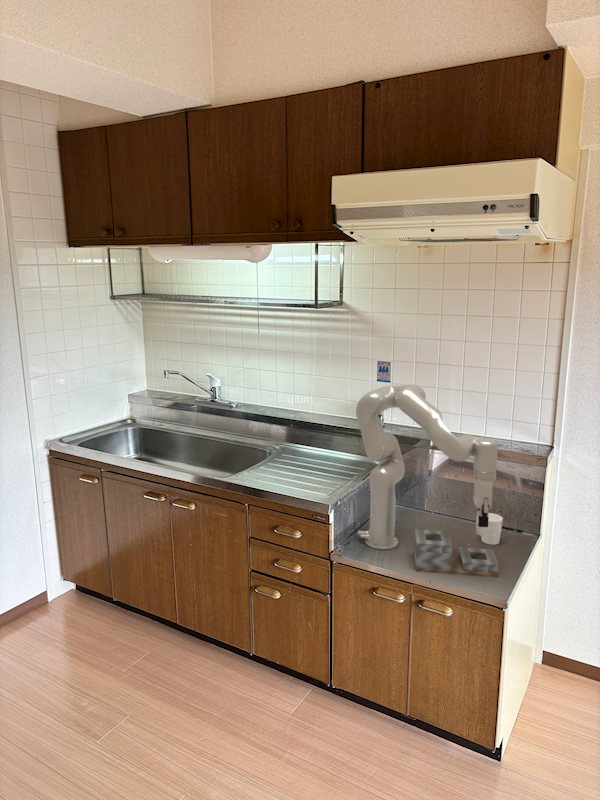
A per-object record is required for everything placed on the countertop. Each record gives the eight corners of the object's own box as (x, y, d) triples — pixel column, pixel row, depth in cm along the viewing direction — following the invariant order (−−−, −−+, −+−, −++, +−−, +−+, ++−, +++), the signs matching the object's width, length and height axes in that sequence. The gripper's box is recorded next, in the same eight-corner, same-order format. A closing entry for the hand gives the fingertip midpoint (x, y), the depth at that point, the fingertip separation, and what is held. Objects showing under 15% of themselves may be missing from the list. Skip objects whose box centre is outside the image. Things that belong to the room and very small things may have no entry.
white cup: (484, 535, 244) (486, 511, 242) (503, 540, 239) (505, 516, 237) (476, 541, 238) (478, 517, 236) (496, 547, 233) (498, 523, 231)
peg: (476, 535, 213) (477, 514, 212) (474, 530, 217) (476, 509, 216) (488, 536, 213) (489, 514, 211) (486, 531, 217) (487, 510, 215)
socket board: (415, 571, 214) (417, 544, 212) (413, 553, 228) (415, 528, 226) (498, 576, 210) (500, 550, 208) (491, 558, 224) (493, 532, 222)
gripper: (470, 466, 219) (467, 514, 223) (477, 481, 203) (474, 533, 207) (491, 467, 218) (489, 515, 222) (500, 482, 202) (497, 534, 206)
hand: (482, 523), depth 214 cm, fingers closed on peg, 4 cm apart
